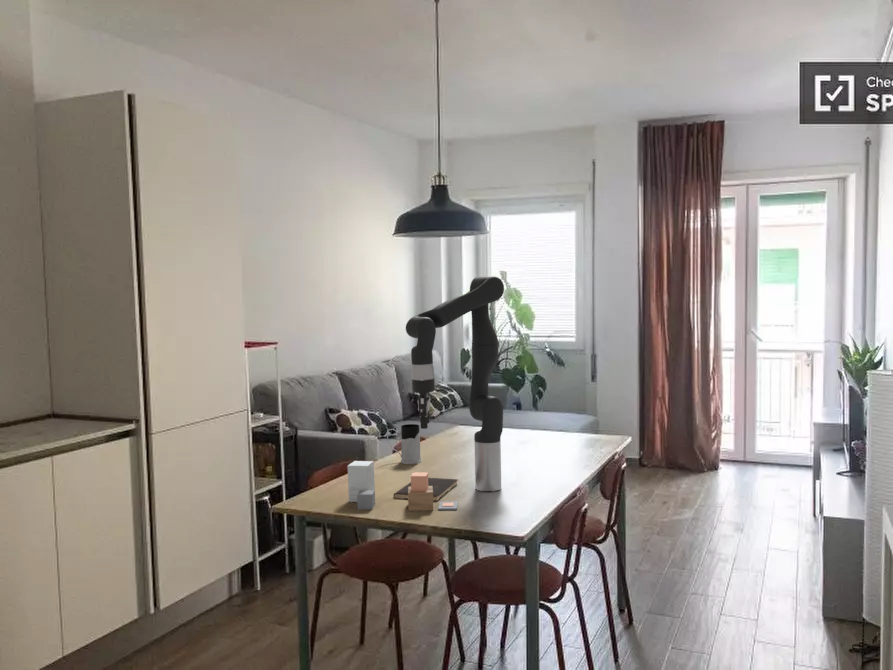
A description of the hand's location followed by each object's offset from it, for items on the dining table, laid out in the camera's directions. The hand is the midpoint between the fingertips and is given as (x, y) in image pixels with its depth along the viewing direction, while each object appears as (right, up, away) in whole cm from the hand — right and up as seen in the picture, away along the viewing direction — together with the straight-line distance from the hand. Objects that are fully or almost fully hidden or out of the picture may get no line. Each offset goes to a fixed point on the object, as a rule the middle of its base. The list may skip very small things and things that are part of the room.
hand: (425, 425), depth 252 cm
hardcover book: (0, -26, +17) cm, 31 cm away
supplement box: (-22, -26, +7) cm, 35 cm away
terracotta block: (-2, -20, -3) cm, 21 cm away
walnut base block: (-1, -26, -3) cm, 27 cm away
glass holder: (-10, -23, +64) cm, 68 cm away
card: (+8, -26, -3) cm, 27 cm away
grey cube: (-19, -27, -2) cm, 33 cm away
